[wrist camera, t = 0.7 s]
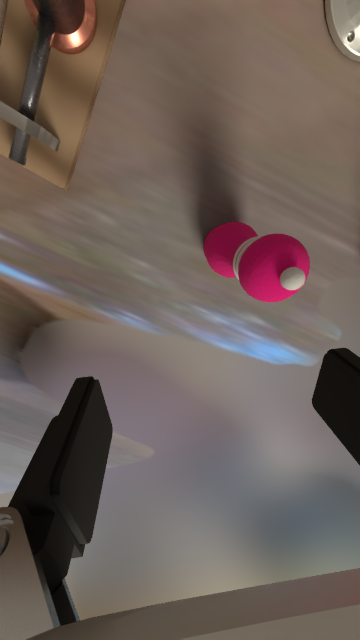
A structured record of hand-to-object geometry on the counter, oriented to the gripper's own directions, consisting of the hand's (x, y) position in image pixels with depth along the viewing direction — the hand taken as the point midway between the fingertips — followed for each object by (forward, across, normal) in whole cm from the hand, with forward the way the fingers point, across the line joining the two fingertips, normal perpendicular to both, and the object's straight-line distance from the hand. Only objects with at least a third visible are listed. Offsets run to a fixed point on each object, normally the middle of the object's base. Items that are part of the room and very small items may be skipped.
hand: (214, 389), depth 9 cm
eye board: (+28, +11, -22) cm, 37 cm away
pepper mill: (+28, -8, -1) cm, 29 cm away
